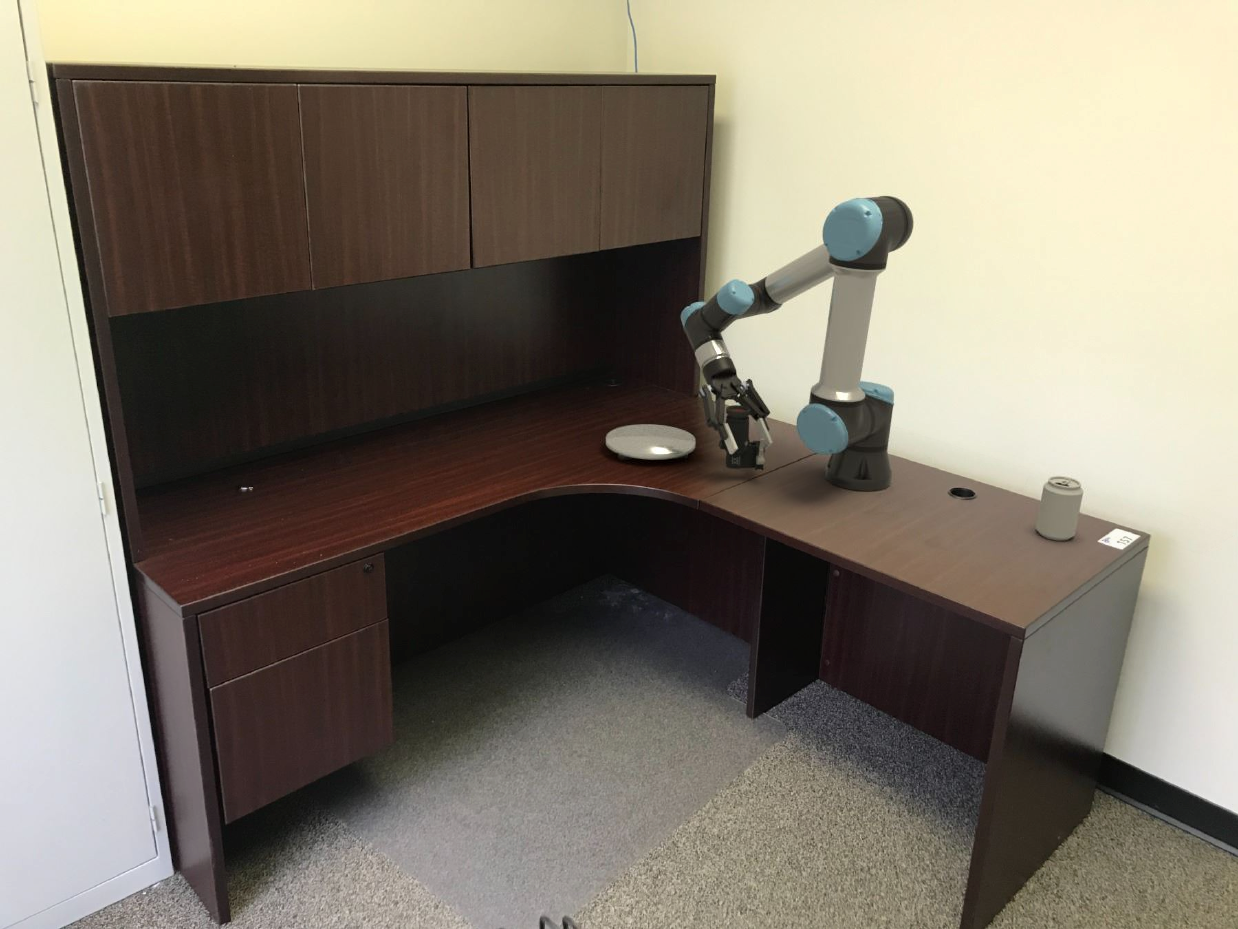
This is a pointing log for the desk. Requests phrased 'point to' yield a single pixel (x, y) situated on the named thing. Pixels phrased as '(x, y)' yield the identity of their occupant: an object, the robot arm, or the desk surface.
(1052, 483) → the can
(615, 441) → the base
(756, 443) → the scope
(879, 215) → the robot arm
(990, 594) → the desk surface
